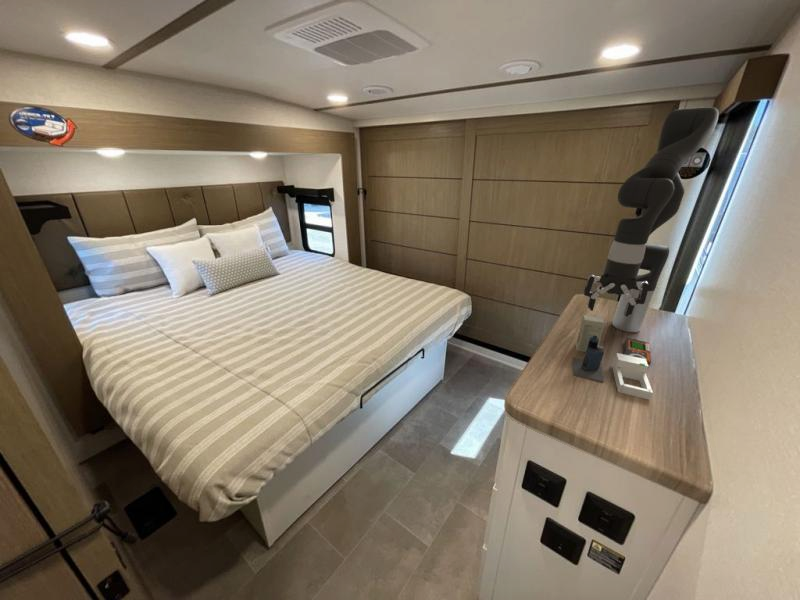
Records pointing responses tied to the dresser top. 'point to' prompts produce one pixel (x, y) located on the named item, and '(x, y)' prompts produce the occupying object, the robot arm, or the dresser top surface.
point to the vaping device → (593, 355)
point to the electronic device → (638, 349)
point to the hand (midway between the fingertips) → (607, 312)
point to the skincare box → (589, 331)
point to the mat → (586, 374)
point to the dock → (631, 375)
